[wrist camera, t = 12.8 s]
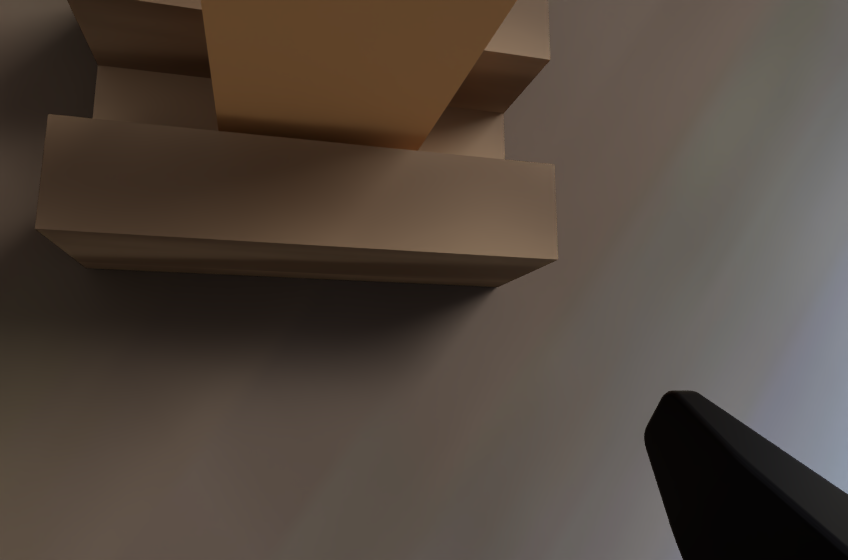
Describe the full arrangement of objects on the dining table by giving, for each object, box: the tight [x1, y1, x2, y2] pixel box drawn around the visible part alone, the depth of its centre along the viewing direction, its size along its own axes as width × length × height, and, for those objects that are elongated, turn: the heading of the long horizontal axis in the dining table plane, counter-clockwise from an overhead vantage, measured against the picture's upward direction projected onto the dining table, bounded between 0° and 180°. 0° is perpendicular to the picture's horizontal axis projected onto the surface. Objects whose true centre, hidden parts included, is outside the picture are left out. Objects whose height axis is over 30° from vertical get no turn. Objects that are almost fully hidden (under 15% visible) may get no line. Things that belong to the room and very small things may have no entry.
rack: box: [35, 0, 558, 287], centre depth 21 cm, size 16×14×5 cm
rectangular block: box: [201, 0, 517, 151], centre depth 16 cm, size 2×6×12 cm, turn 91°
